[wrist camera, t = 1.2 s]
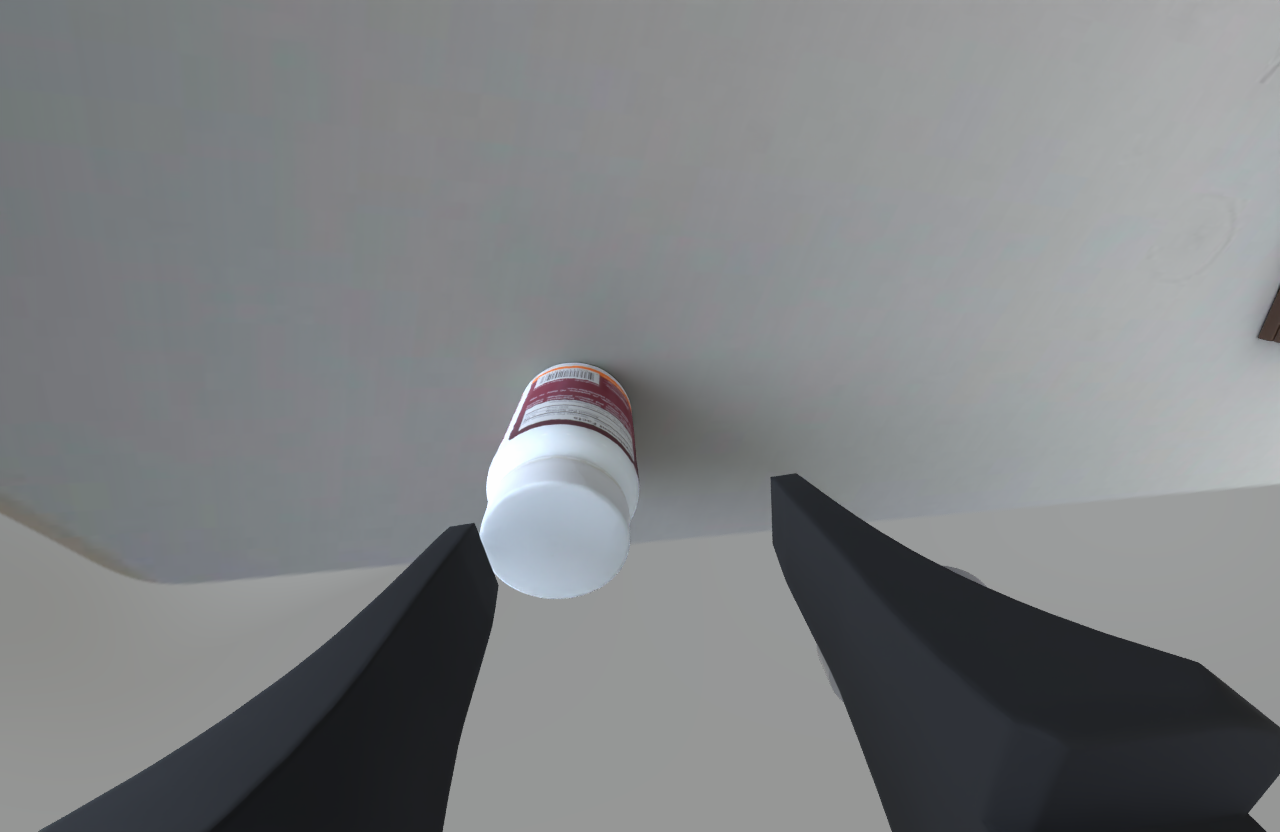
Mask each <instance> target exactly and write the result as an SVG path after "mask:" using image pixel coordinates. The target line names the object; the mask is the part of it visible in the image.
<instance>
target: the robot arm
mask: <svg viewBox="0 0 1280 832" xmlns="http://www.w3.org/2000/svg"><path fill="white" fill-rule="evenodd" d="M771 505H772V536H773V546H774V549H775V552H776V554H777V557H778V560H779V563H780V566H781V569H782V572H783V574H784V577H785V579H786V582H787V584H788V586H789V588H790V591H791V593H792V594H793V597H794V599H795V601H796V602H797V605H798V607H799V609H800V611H801V613H802V615H803V617H804V619H805V621H806V623H807V625H808V627H809V629H810V631H811V633H812V635H813V637H814V639H815V641H816V643H817V645H818V647H819V649H820V651H821V653H822V655H823V657H824V659H825V661H826V663H827V665H828V667H829V669H830V671H831V673H832V676H833V678H834V680H835V682H836V684H837V687H838V689H839V691H840V694H841V696H842V699H843V701H844V704H845V706H846V709H847V712H848V714H849V717H850V719H851V722H852V724H853V727H854V730H855V732H856V735H857V737H858V740H859V742H860V745H861V748H862V751H863V753H864V756H865V759H866V761H867V764H868V767H869V769H870V772H871V775H872V777H873V780H874V783H875V786H876V788H877V791H878V794H879V796H880V799H881V802H882V805H883V808H884V811H885V813H886V816H887V819H888V822H889V825H890V827H891V830H892V832H1266V831H1265V830H1264V829H1263V828H1262V827H1261V826H1260V825H1259V824H1258V823H1257V822H1256V821H1255V820H1254V819H1253V818H1252V817H1251V816H1250V815H1249V814H1248V813H1249V811H1250V810H1251V809H1252V808H1253V806H1254V805H1255V804H1256V802H1257V801H1258V800H1259V799H1260V798H1261V797H1262V795H1263V794H1264V793H1265V792H1266V790H1267V789H1268V788H1269V787H1270V785H1271V784H1272V783H1273V782H1274V780H1275V779H1276V778H1277V777H1278V776H1279V774H1280V727H1279V726H1277V725H1276V724H1275V723H1274V722H1272V721H1271V720H1270V719H1269V718H1268V717H1266V716H1265V715H1264V714H1263V713H1261V712H1260V711H1259V710H1258V709H1256V708H1255V707H1254V706H1253V705H1251V704H1250V703H1249V702H1248V701H1246V700H1245V699H1244V698H1243V697H1241V696H1240V695H1239V694H1238V693H1236V692H1235V691H1234V690H1232V688H1230V687H1229V686H1228V685H1227V684H1225V683H1224V682H1223V681H1222V680H1220V679H1219V678H1218V677H1217V676H1215V675H1214V674H1213V673H1211V672H1210V671H1209V670H1208V669H1206V668H1205V667H1204V666H1203V665H1201V664H1200V663H1198V662H1195V661H1192V660H1189V659H1186V658H1182V657H1179V656H1176V655H1173V654H1170V653H1166V652H1163V651H1160V650H1157V649H1154V648H1150V647H1147V646H1144V645H1141V644H1137V643H1134V642H1131V641H1128V640H1125V639H1122V638H1118V637H1115V636H1112V635H1109V634H1106V633H1103V632H1100V631H1097V630H1094V629H1091V628H1089V627H1086V626H1083V625H1080V624H1078V623H1075V622H1072V621H1069V620H1067V619H1064V618H1061V617H1058V616H1056V615H1053V614H1050V613H1048V612H1045V611H1042V610H1040V609H1037V608H1035V607H1032V606H1030V605H1027V604H1025V603H1022V602H1020V601H1017V600H1015V599H1012V598H1010V597H1008V596H1006V595H1003V594H1001V593H999V592H996V591H994V590H992V589H989V588H987V587H985V586H982V585H980V584H978V583H976V582H974V581H971V580H969V579H967V578H965V577H963V576H961V575H959V574H957V573H955V572H953V571H951V570H949V569H947V568H945V567H943V566H941V565H939V564H937V563H935V562H933V561H931V560H929V559H927V558H925V557H923V556H921V555H920V554H918V553H916V552H914V551H912V550H911V549H909V548H907V547H905V546H903V545H902V544H900V543H899V542H897V541H895V540H894V539H892V538H890V537H889V536H887V535H885V534H883V533H882V532H880V531H878V530H877V529H875V528H874V527H872V526H871V525H869V524H868V523H866V522H865V521H863V520H861V519H860V518H858V517H857V516H855V515H854V514H853V513H851V512H850V511H848V510H847V509H845V508H844V507H842V506H841V505H839V504H838V503H837V502H835V501H834V500H832V499H831V498H830V497H828V496H827V495H825V494H824V493H823V492H821V491H820V490H819V489H817V488H816V487H814V486H813V485H812V484H810V483H809V482H808V481H806V480H805V479H803V478H802V477H801V476H799V475H798V474H796V473H795V474H789V475H782V476H776V477H771ZM497 591H498V583H497V580H496V578H495V575H494V572H493V570H492V567H491V565H490V562H489V559H488V557H487V554H486V552H485V549H484V546H483V544H482V541H481V539H480V536H479V533H478V531H477V528H476V526H475V523H471V524H465V525H458V526H452V527H449V528H448V529H447V530H446V531H445V532H443V533H442V534H441V535H440V536H439V537H438V538H437V539H436V540H435V541H434V542H433V543H432V544H431V545H430V546H429V547H428V548H427V549H426V550H425V551H424V552H423V553H422V554H421V555H420V556H419V557H418V558H417V559H416V560H415V561H414V562H413V563H412V564H411V565H410V566H409V567H408V568H407V569H406V570H405V571H404V572H403V573H402V574H400V575H399V576H398V577H397V578H396V580H395V581H393V583H391V584H390V585H389V586H388V587H387V588H386V589H385V590H384V591H383V592H382V593H381V594H380V595H379V596H378V597H377V598H375V599H374V600H373V601H372V602H371V603H370V604H369V605H368V606H367V607H366V608H365V609H363V610H362V611H361V612H360V613H359V614H358V615H357V616H356V617H355V618H354V619H353V620H351V621H350V622H349V623H348V624H347V625H346V626H345V627H344V628H343V629H341V630H340V631H339V632H338V633H337V634H336V635H334V636H333V637H332V638H331V639H330V640H329V641H327V642H326V643H325V644H324V645H323V646H321V647H320V648H319V649H318V650H316V651H315V652H314V653H313V654H311V655H310V656H309V657H308V658H306V659H305V660H304V661H303V662H301V663H300V664H299V665H298V666H296V667H295V668H294V669H293V670H291V671H290V672H289V673H287V674H286V675H285V676H283V677H282V678H280V679H279V680H278V681H276V682H275V683H274V684H272V685H271V686H269V687H268V688H267V689H265V690H264V691H262V692H261V693H260V694H258V695H257V696H255V697H254V698H253V699H251V700H250V701H249V702H247V703H246V704H244V705H243V706H242V707H240V708H239V709H237V710H236V711H235V712H233V713H232V714H230V715H229V716H227V717H226V718H225V719H223V720H222V721H220V722H219V723H217V724H215V725H214V726H212V727H211V728H209V729H208V730H206V731H205V732H204V733H202V734H200V735H199V736H198V737H196V738H194V739H193V740H191V741H190V742H188V743H187V744H185V745H183V746H182V747H180V748H179V749H177V750H175V751H174V752H172V753H171V754H169V755H168V756H166V757H164V758H163V759H161V760H160V761H158V762H156V763H155V764H153V765H152V766H150V767H148V768H147V769H145V770H143V771H142V772H140V773H138V774H137V775H135V776H134V777H132V778H130V779H128V780H127V781H125V782H123V783H121V784H120V785H118V786H116V787H115V788H113V789H111V790H110V791H108V792H106V793H104V794H102V795H101V796H99V797H97V798H96V799H94V800H92V801H90V802H89V803H87V804H85V805H83V806H82V807H80V808H78V809H77V810H75V811H73V812H71V813H70V814H68V815H66V816H65V817H63V818H61V819H59V820H57V821H56V822H54V823H52V824H50V825H48V826H47V827H45V828H43V829H41V830H40V831H39V832H442V831H443V825H444V819H445V814H446V808H447V802H448V796H449V791H450V786H451V780H452V776H453V771H454V765H455V760H456V755H457V750H458V745H459V741H460V737H461V733H462V729H463V725H464V722H465V718H466V715H467V711H468V707H469V705H470V701H471V698H472V694H473V691H474V687H475V683H476V680H477V677H478V674H479V670H480V667H481V664H482V660H483V657H484V653H485V650H486V646H487V643H488V639H489V636H490V632H491V628H492V624H493V618H494V613H495V607H496V599H497Z"/></svg>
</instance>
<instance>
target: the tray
mask: <svg viewBox="0 0 1280 832" xmlns="http://www.w3.org/2000/svg"><path fill="white" fill-rule="evenodd" d="M1258 338H1259V339H1263V340H1267V341H1274V342H1277V343H1280V289H1279V291H1278V293H1277V296H1276V298H1275V300H1274V302H1273V305H1272V307H1271V309H1270V312H1269V314H1268V316H1267V318H1266V321H1265V323H1264V325H1263V327H1262V330H1261V332H1260V334H1259V337H1258Z"/></svg>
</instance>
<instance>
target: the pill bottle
mask: <svg viewBox="0 0 1280 832" xmlns="http://www.w3.org/2000/svg"><path fill="white" fill-rule="evenodd" d="M486 489H487V499H488V506H487V509H486V512H485V515H484V518H483V521H482V525H481V530H480V539H481V541H482V544H483V546H484V549H485V552H486V554H487V557H488V559H489V562H490V565H491V567H492V570H493V572H494V574H495V575H496V576H498V577H499V578H500V579H501V580H502V581H503V582H505V583H506V584H507V585H509V586H510V587H512V588H514V589H516V590H518V591H520V592H522V593H525V594H529V595H532V596H535V597H541V598H546V599H566V598H573V597H578V596H582V595H585V594H588V593H591V592H593V591H595V590H597V589H599V588H601V587H602V586H604V585H605V584H607V583H608V582H609V581H610V580H611V579H613V578H614V577H615V576H616V575H617V573H618V572H619V571H620V570H621V568H622V566H623V565H624V563H625V560H626V558H627V555H628V552H629V547H630V521H631V519H632V518H633V515H634V513H635V510H636V507H637V503H638V499H639V491H640V487H639V476H638V468H637V461H636V449H635V438H634V429H633V419H632V410H631V404H630V401H629V398H628V396H627V394H626V392H625V390H624V389H623V387H622V386H621V385H620V383H619V382H618V381H617V380H616V379H615V378H614V377H612V376H611V375H610V374H609V373H607V372H606V371H604V370H602V369H600V368H598V367H595V366H592V365H589V364H583V363H563V364H559V365H555V366H553V367H551V368H548V369H546V370H545V371H543V372H541V373H540V374H539V375H537V376H536V377H535V378H534V379H533V380H532V381H531V382H530V384H529V385H528V386H527V388H526V389H525V391H524V393H523V395H522V397H521V400H520V401H519V404H518V406H517V408H516V410H515V413H514V415H513V417H512V419H511V422H510V424H509V426H508V429H507V431H506V433H505V435H504V438H503V440H502V441H501V444H500V446H499V448H498V450H497V453H496V455H495V457H494V459H493V461H492V463H491V465H490V468H489V473H488V478H487V487H486Z"/></svg>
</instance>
